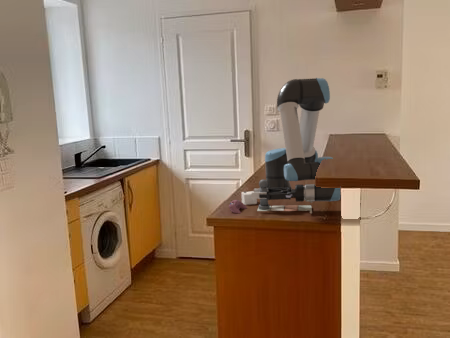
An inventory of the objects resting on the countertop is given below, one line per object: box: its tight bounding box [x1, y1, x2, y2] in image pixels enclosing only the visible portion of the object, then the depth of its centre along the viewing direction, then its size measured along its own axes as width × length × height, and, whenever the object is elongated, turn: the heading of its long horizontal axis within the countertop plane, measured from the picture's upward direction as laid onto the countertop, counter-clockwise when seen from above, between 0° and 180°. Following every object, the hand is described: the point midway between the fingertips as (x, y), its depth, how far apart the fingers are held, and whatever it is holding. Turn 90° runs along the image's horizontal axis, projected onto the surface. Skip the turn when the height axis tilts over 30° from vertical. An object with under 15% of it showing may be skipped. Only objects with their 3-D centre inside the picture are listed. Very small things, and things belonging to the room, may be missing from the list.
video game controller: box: [228, 199, 248, 214], centre depth 204 cm, size 10×5×7 cm, turn 158°
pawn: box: [258, 179, 271, 210], centre depth 204 cm, size 5×5×13 cm
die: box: [241, 190, 258, 206], centre depth 217 cm, size 6×6×6 cm
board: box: [256, 204, 313, 214], centre depth 203 cm, size 10×24×1 cm, turn 81°
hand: (252, 193), depth 205 cm, fingers open, 8 cm apart
